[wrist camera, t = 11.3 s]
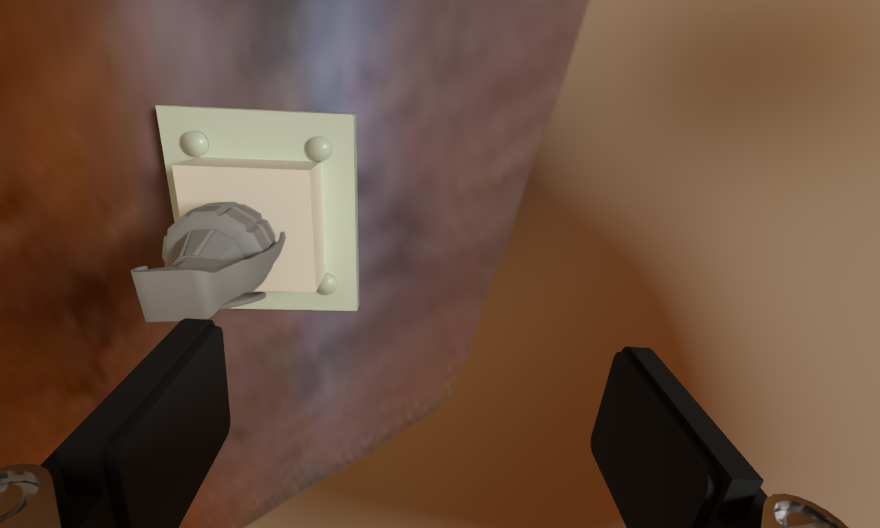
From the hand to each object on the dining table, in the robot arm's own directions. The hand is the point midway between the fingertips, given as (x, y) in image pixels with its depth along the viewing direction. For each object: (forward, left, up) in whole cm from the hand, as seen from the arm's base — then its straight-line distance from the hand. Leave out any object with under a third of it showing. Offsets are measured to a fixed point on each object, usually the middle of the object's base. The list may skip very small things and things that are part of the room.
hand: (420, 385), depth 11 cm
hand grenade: (+3, -12, -23) cm, 26 cm away
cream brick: (+3, -12, -26) cm, 29 cm away
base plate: (+3, -12, -28) cm, 30 cm away
